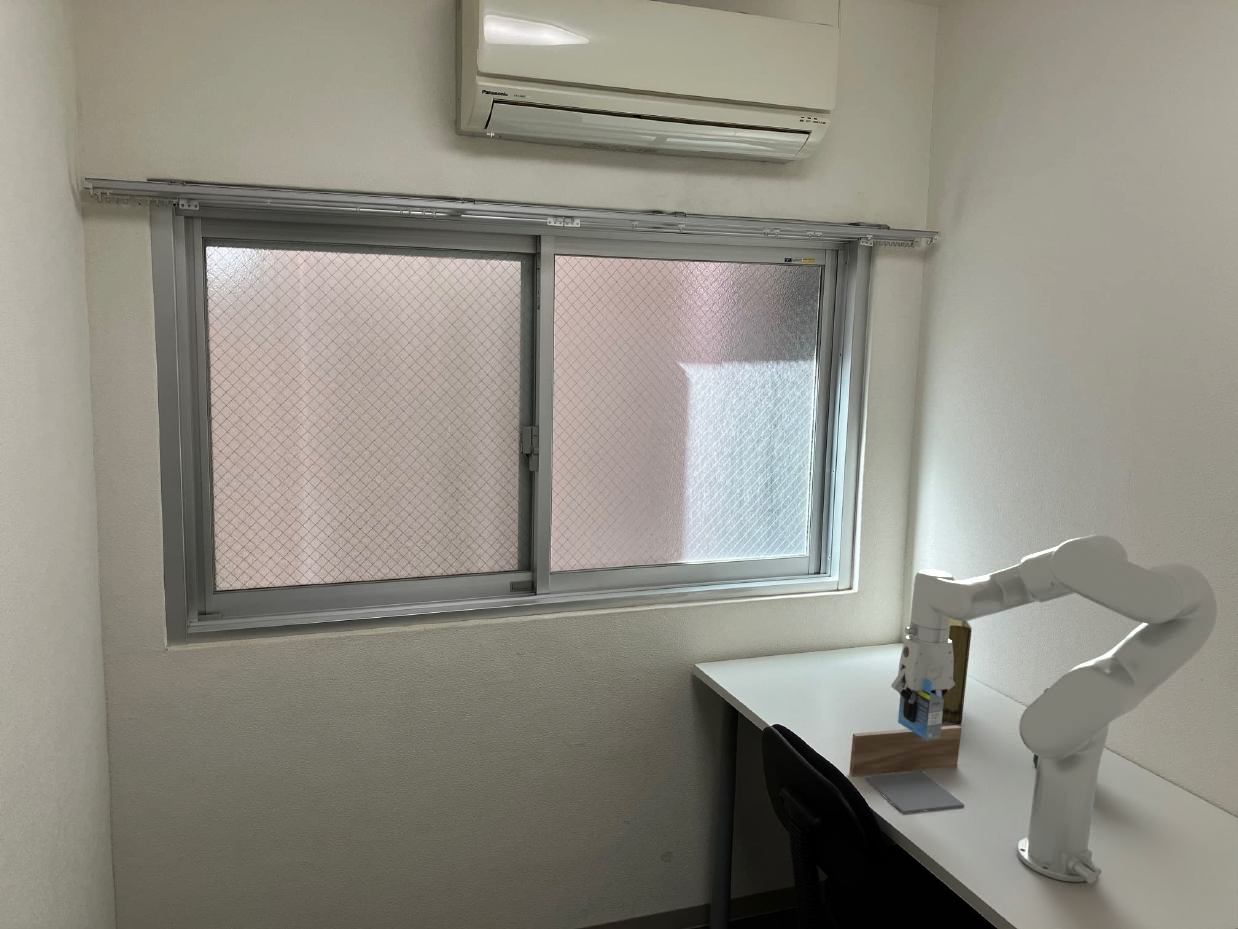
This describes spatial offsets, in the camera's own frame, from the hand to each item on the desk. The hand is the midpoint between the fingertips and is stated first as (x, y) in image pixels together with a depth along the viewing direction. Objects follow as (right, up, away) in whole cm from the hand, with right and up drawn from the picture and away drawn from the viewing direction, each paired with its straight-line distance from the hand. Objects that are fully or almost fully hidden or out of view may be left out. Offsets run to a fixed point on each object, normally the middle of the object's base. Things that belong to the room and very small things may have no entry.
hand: (919, 718), depth 177 cm
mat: (-1, -16, +2) cm, 16 cm away
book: (+21, -12, +44) cm, 51 cm away
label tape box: (0, -3, 0) cm, 3 cm away
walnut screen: (+1, -15, +12) cm, 19 cm away
